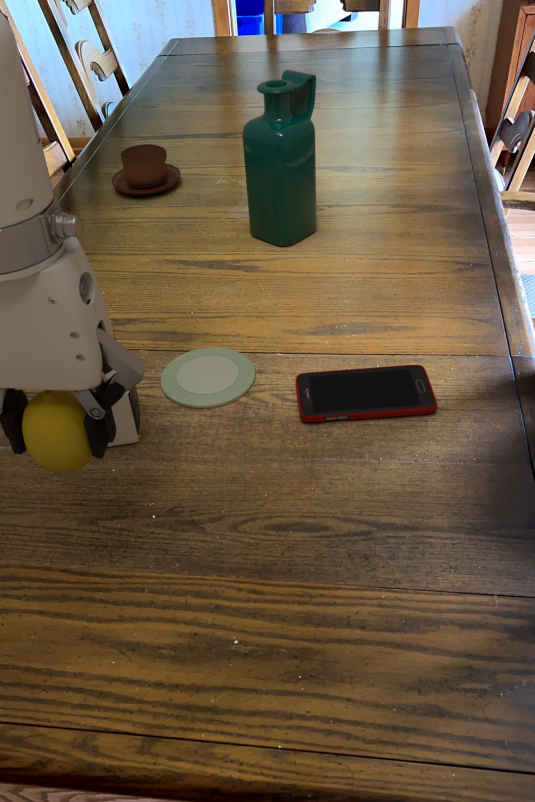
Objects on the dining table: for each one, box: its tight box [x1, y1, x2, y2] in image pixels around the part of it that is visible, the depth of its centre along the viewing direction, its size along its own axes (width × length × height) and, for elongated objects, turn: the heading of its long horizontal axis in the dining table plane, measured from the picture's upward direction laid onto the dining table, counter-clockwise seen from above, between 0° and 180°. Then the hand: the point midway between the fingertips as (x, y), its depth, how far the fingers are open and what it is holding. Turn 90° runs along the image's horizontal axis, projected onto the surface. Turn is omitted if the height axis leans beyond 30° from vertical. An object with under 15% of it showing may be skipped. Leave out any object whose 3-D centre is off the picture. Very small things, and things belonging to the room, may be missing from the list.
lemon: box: [22, 390, 94, 474], centre depth 55 cm, size 6×6×8 cm
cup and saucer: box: [111, 143, 181, 196], centre depth 124 cm, size 12×12×6 cm
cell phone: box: [295, 364, 438, 423], centre depth 78 cm, size 8×15×1 cm, turn 93°
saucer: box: [159, 346, 256, 409], centre depth 83 cm, size 11×11×1 cm
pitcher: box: [241, 69, 317, 247], centre depth 103 cm, size 10×8×22 cm
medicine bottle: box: [92, 332, 142, 448], centre depth 74 cm, size 7×7×12 cm
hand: (64, 442), depth 56 cm, fingers closed on lemon, 5 cm apart
